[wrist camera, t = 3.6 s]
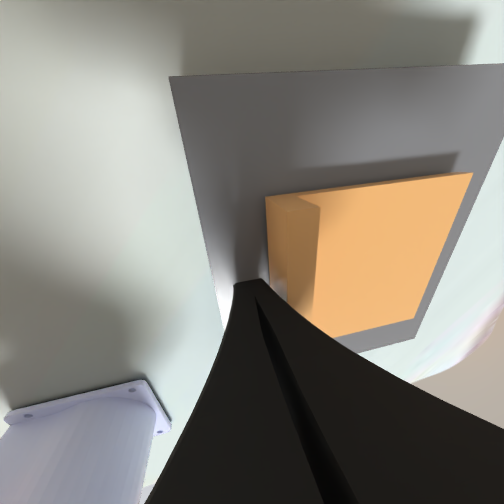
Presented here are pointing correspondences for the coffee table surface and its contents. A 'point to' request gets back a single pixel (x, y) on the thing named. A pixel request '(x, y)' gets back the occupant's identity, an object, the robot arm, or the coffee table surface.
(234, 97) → the socket base
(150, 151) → the coffee table surface
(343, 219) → the panel
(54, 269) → the coffee table surface
